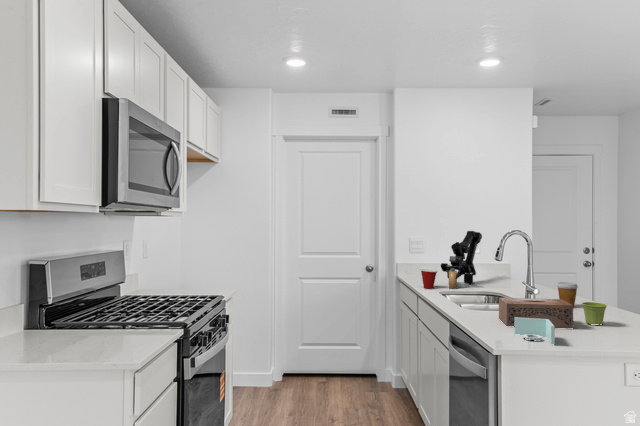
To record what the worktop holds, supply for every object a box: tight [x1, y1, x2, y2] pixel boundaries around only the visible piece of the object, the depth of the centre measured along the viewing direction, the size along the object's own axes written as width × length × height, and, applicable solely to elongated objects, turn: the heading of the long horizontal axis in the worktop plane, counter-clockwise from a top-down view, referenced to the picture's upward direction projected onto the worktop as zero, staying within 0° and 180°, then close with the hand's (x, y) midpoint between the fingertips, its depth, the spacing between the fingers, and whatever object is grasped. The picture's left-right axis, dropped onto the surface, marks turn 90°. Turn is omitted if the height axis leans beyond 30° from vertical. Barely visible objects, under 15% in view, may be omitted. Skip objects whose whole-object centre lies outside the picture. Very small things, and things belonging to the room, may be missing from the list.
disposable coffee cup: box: [556, 281, 579, 309], centre depth 239 cm, size 10×10×12 cm
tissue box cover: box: [498, 297, 574, 329], centre depth 200 cm, size 26×14×10 cm, turn 81°
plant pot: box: [581, 301, 608, 325], centre depth 200 cm, size 9×9×9 cm
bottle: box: [448, 268, 458, 290], centre depth 301 cm, size 5×5×13 cm
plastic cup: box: [420, 268, 438, 290], centre depth 300 cm, size 11×11×12 cm
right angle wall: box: [514, 317, 556, 345], centre depth 174 cm, size 12×12×8 cm
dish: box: [457, 281, 469, 289], centre depth 309 cm, size 11×11×2 cm
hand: (451, 278), depth 300 cm, fingers closed on bottle, 5 cm apart
